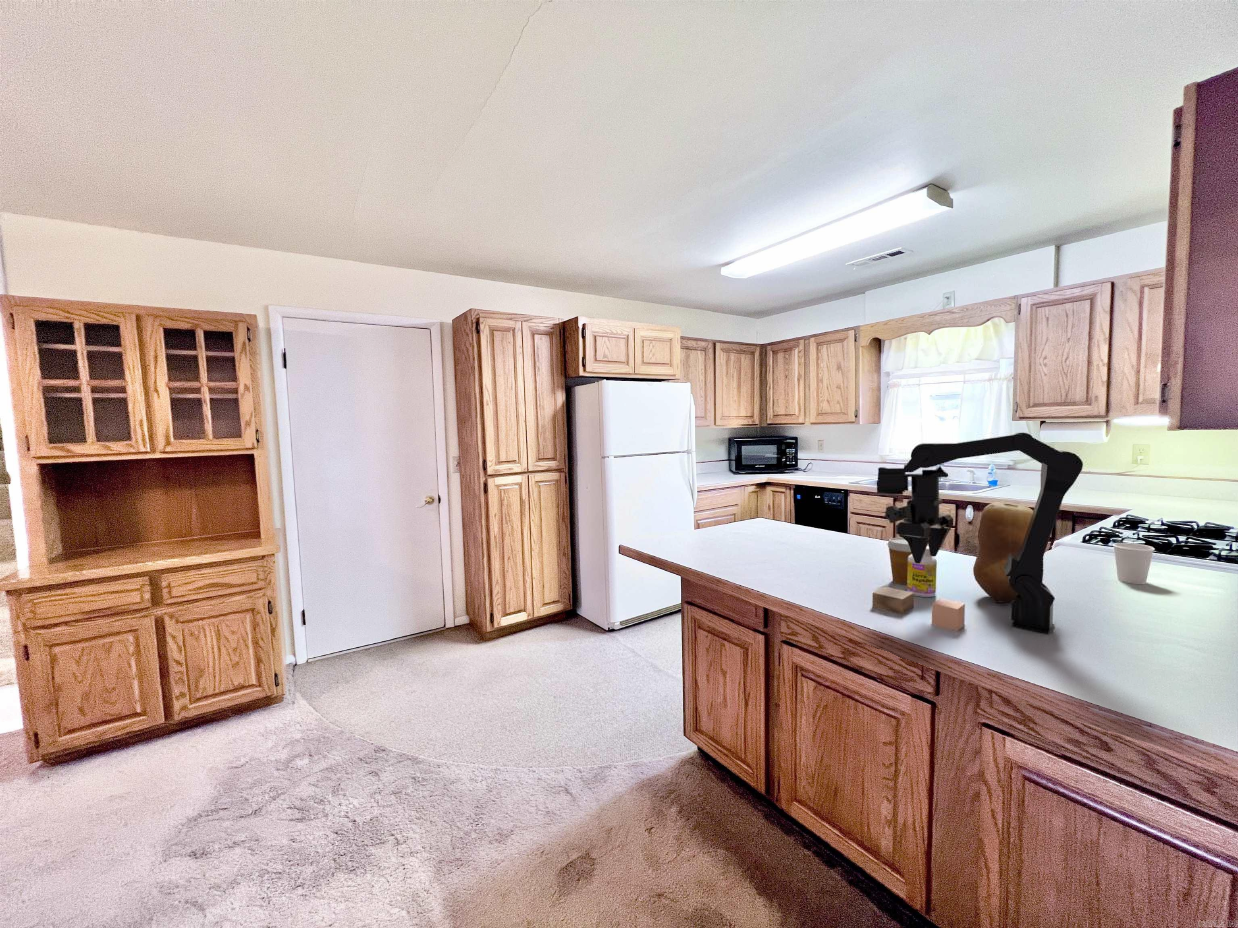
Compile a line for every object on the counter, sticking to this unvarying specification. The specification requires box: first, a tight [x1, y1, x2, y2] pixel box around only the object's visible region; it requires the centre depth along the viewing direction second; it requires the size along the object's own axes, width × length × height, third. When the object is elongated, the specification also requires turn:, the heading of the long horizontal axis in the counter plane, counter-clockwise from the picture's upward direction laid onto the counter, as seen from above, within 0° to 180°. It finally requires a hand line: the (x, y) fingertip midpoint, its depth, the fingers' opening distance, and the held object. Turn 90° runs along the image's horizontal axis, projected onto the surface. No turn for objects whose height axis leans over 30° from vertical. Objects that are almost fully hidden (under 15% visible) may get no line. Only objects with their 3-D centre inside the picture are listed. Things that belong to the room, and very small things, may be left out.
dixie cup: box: [1112, 542, 1156, 585], centre depth 145 cm, size 8×8×10 cm
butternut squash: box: [972, 501, 1034, 603], centre depth 131 cm, size 14×13×25 cm
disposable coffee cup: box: [886, 537, 912, 586], centre depth 148 cm, size 10×10×12 cm
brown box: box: [871, 586, 915, 615], centre depth 128 cm, size 7×7×4 cm
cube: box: [931, 598, 966, 632], centre depth 116 cm, size 5×5×5 cm
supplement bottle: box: [906, 545, 938, 598], centre depth 137 cm, size 7×7×13 cm
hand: (925, 559), depth 124 cm, fingers open, 9 cm apart
